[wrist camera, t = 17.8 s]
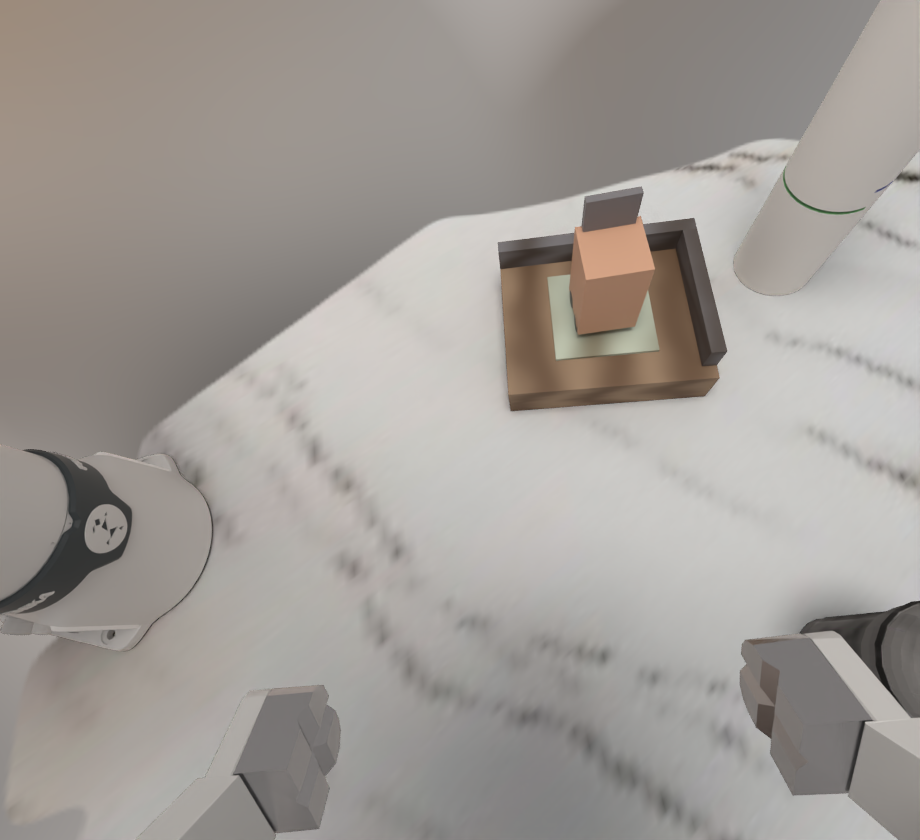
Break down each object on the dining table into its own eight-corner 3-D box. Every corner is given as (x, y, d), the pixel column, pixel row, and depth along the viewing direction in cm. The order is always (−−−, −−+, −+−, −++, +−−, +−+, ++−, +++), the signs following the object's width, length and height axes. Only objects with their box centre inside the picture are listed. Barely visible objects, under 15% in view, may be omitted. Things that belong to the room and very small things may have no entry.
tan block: (577, 339, 44) (590, 253, 33) (568, 293, 46) (578, 197, 35) (633, 331, 43) (665, 241, 32) (622, 285, 45) (648, 185, 34)
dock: (510, 411, 47) (506, 383, 41) (502, 283, 52) (497, 242, 46) (704, 396, 45) (730, 364, 39) (675, 263, 50) (694, 218, 44)
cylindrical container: (828, 270, 47) (1108, -47, 24) (770, 308, 47) (998, 22, 24) (773, 225, 50) (977, -100, 27) (717, 260, 49) (876, -39, 26)
